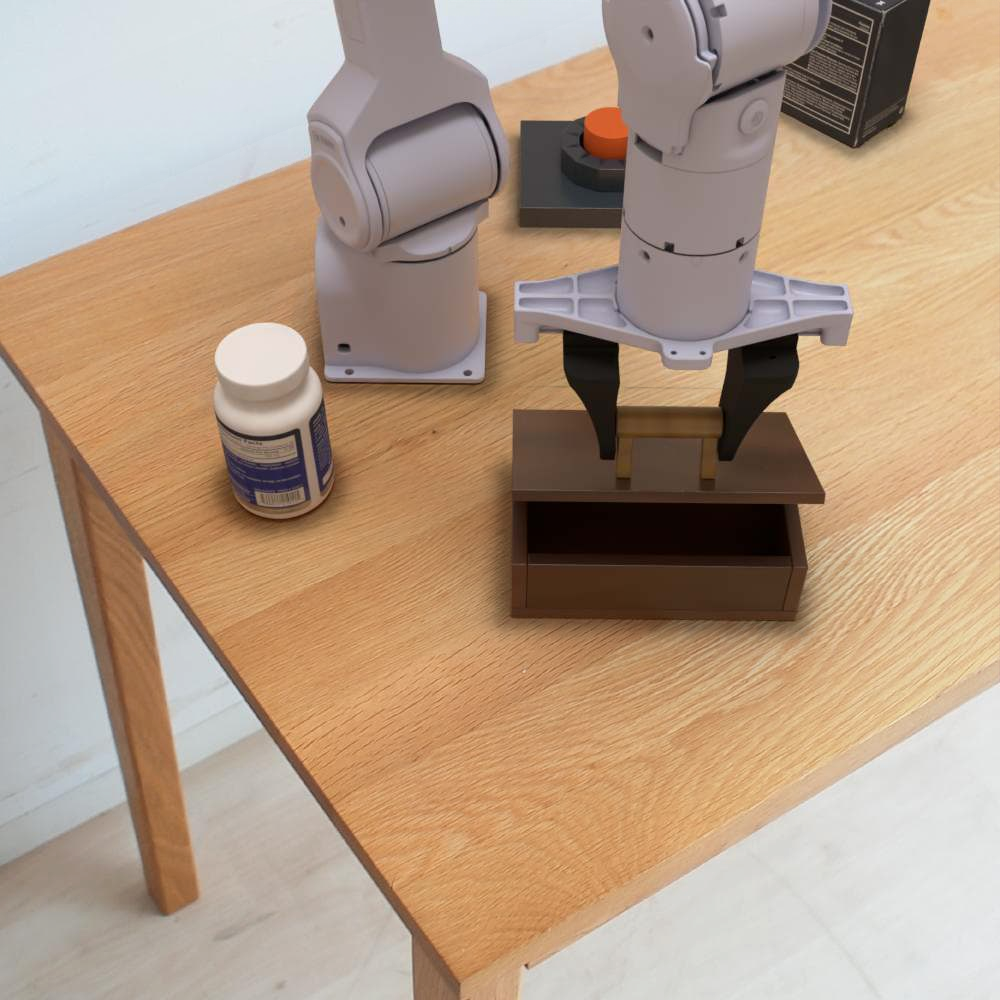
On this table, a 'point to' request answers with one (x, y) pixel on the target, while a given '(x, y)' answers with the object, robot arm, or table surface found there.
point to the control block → (567, 179)
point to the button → (606, 133)
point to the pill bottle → (272, 421)
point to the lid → (659, 459)
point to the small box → (857, 69)
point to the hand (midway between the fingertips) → (664, 445)
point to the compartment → (656, 560)
